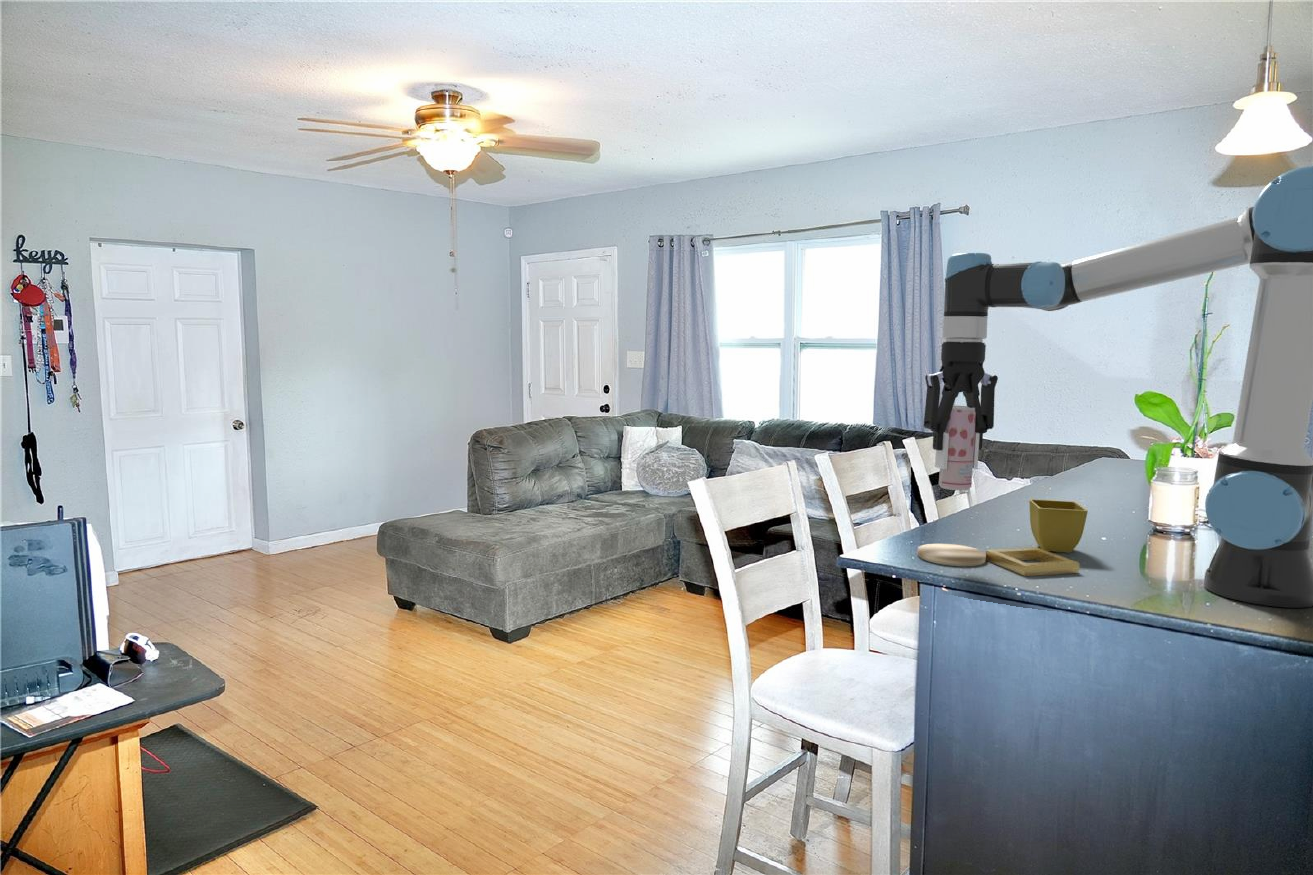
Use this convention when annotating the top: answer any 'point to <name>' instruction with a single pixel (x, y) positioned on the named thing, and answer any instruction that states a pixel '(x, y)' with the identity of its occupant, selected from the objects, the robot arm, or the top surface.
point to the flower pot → (1057, 524)
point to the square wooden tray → (1046, 566)
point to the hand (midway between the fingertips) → (956, 467)
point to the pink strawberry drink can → (959, 449)
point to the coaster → (951, 554)
